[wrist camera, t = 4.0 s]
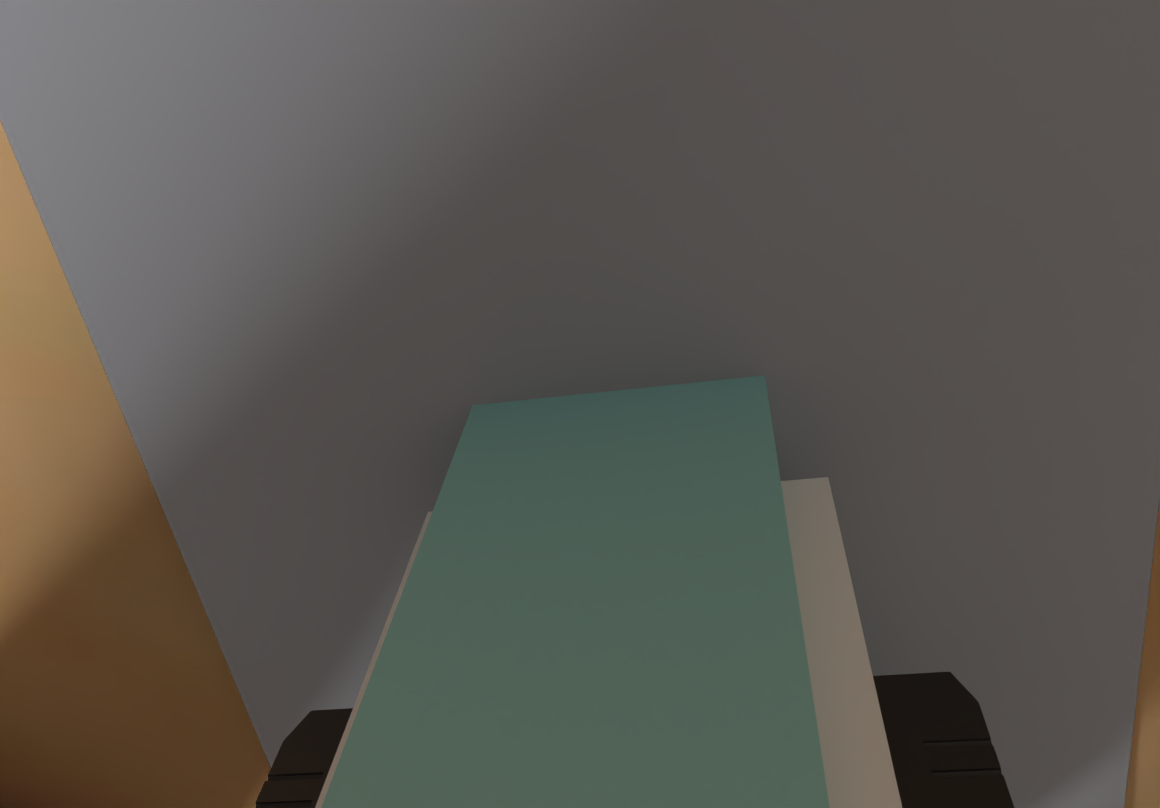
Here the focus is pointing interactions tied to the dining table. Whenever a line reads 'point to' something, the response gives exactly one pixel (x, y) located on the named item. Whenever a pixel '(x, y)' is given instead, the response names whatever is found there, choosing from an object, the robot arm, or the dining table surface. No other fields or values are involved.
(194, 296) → the mat
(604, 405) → the block
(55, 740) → the dining table surface
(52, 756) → the dining table surface
